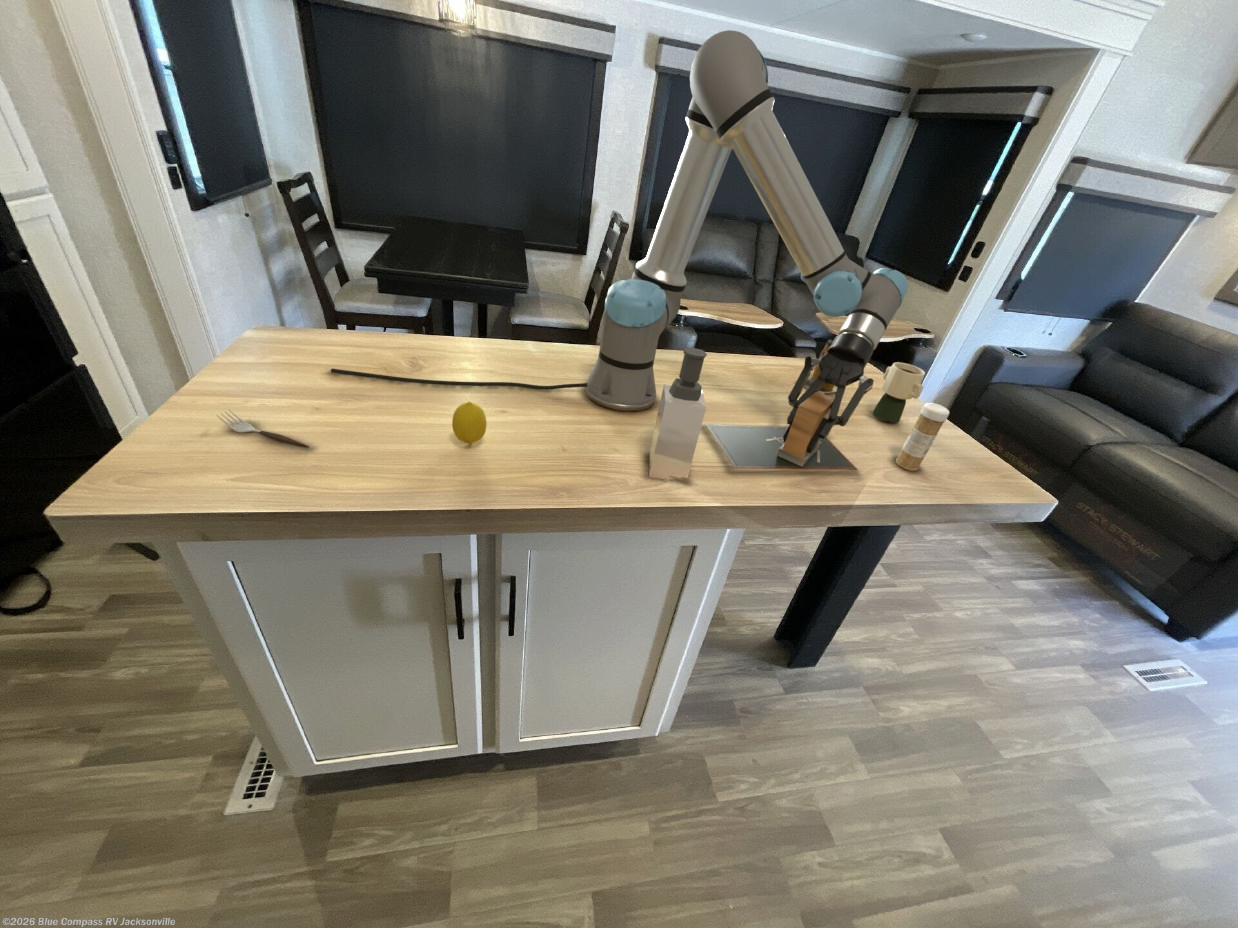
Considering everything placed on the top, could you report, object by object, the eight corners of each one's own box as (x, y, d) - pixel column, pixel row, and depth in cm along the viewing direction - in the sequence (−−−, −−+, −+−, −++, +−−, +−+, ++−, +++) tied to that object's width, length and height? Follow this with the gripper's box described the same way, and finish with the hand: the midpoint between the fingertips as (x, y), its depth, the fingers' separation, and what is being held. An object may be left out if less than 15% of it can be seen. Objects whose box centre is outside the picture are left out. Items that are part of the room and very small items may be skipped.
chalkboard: (732, 472, 96) (733, 467, 95) (703, 427, 109) (704, 423, 108) (855, 473, 102) (857, 469, 102) (814, 431, 115) (816, 427, 115)
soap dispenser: (682, 455, 98) (711, 342, 86) (686, 482, 91) (718, 363, 79) (648, 450, 98) (672, 336, 86) (649, 477, 91) (675, 356, 79)
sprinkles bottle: (904, 458, 111) (934, 401, 103) (922, 470, 107) (955, 412, 100) (890, 461, 109) (919, 402, 101) (908, 473, 105) (940, 414, 98)
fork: (303, 454, 82) (301, 443, 81) (218, 426, 84) (215, 415, 83) (316, 446, 84) (314, 435, 83) (232, 419, 86) (229, 408, 85)
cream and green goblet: (912, 429, 123) (939, 379, 116) (889, 430, 121) (915, 379, 114) (880, 407, 132) (903, 358, 125) (858, 408, 129) (880, 358, 122)
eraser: (802, 467, 99) (823, 415, 93) (776, 455, 101) (795, 404, 95) (819, 448, 106) (839, 399, 100) (794, 438, 108) (813, 389, 102)
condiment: (839, 391, 137) (857, 347, 130) (819, 395, 132) (837, 350, 126) (817, 379, 142) (833, 336, 135) (796, 383, 137) (813, 338, 131)
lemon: (457, 454, 88) (456, 412, 83) (449, 437, 92) (448, 396, 87) (490, 450, 90) (491, 408, 86) (481, 433, 94) (481, 393, 90)
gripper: (897, 368, 102) (840, 470, 99) (812, 339, 109) (757, 434, 106) (903, 347, 95) (842, 457, 92) (813, 318, 103) (753, 419, 100)
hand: (797, 444), depth 99 cm, fingers closed on eraser, 4 cm apart
